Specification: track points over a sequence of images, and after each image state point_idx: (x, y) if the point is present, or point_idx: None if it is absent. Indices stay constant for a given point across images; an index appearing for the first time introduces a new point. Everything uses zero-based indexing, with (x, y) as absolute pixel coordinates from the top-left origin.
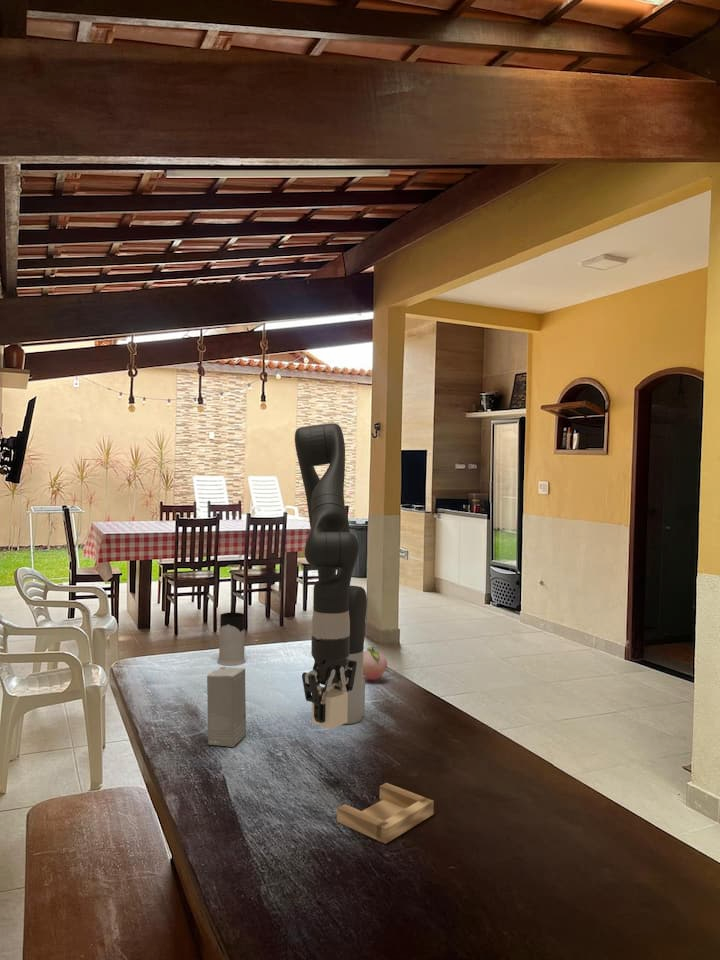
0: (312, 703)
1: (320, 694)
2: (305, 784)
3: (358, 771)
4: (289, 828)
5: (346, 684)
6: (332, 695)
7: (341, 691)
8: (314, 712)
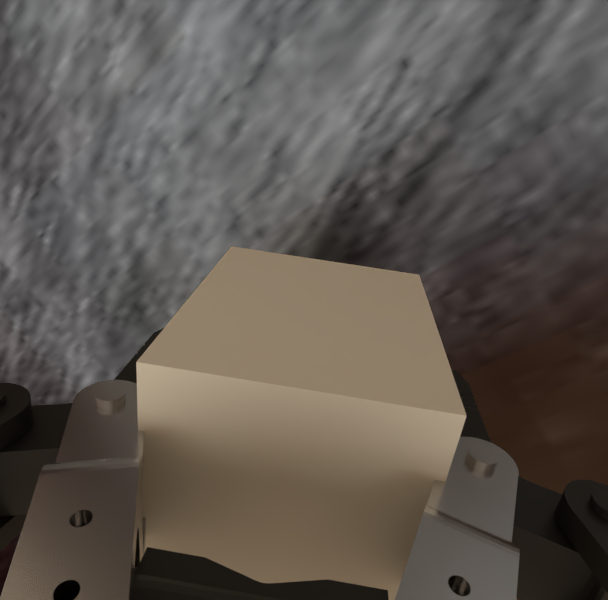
0: (184, 310)
1: (163, 460)
2: (268, 163)
3: (485, 269)
4: (11, 305)
5: (573, 597)
6: (223, 560)
7: (388, 578)
8: (138, 356)
